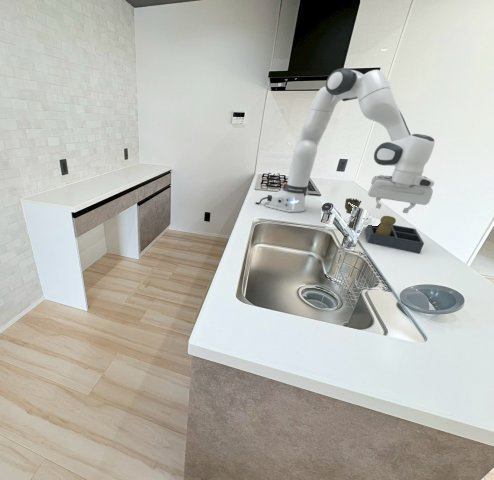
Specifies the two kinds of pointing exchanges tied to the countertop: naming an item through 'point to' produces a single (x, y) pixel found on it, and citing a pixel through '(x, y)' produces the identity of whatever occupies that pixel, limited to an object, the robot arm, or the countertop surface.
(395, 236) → the grid
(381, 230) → the cork
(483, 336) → the countertop surface
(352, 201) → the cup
